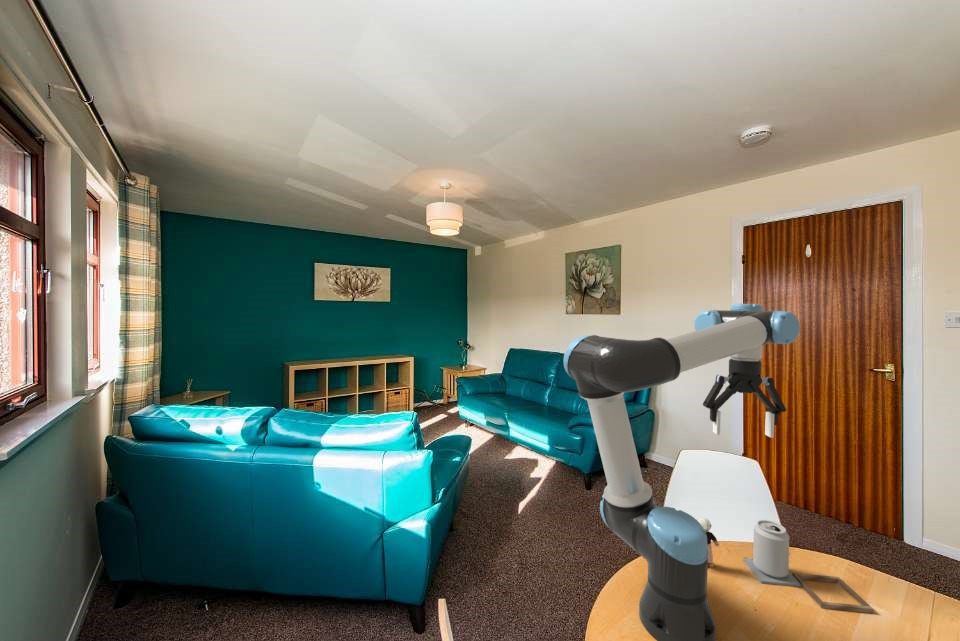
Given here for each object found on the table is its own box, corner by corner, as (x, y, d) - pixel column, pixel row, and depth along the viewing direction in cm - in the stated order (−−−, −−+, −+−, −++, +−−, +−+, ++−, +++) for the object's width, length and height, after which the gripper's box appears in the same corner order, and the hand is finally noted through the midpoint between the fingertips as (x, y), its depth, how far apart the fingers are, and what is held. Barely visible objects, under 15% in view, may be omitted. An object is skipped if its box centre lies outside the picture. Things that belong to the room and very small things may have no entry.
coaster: (761, 583, 98) (761, 580, 98) (743, 560, 107) (743, 557, 107) (801, 586, 97) (801, 584, 97) (779, 563, 106) (779, 561, 106)
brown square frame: (821, 607, 90) (821, 603, 90) (792, 576, 101) (792, 572, 101) (873, 613, 89) (873, 609, 89) (838, 580, 99) (838, 576, 99)
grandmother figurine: (708, 557, 109) (709, 512, 108) (720, 566, 105) (721, 520, 104) (686, 562, 106) (686, 517, 106) (697, 571, 103) (698, 524, 102)
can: (795, 582, 98) (796, 535, 97) (761, 578, 99) (762, 532, 99) (779, 562, 105) (779, 519, 105) (747, 559, 107) (748, 516, 106)
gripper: (786, 358, 110) (783, 433, 111) (691, 356, 114) (689, 427, 114) (804, 362, 103) (800, 442, 103) (702, 359, 106) (700, 436, 107)
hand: (742, 434), depth 109 cm, fingers open, 13 cm apart
